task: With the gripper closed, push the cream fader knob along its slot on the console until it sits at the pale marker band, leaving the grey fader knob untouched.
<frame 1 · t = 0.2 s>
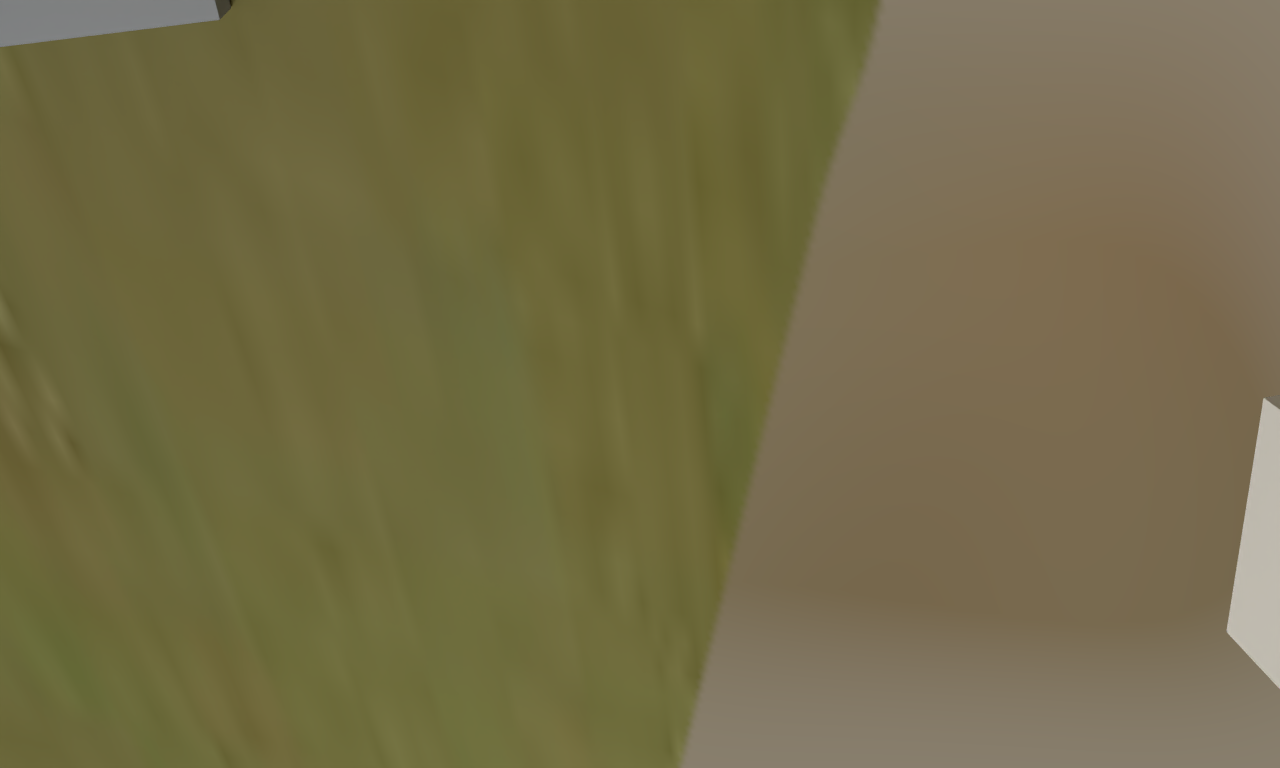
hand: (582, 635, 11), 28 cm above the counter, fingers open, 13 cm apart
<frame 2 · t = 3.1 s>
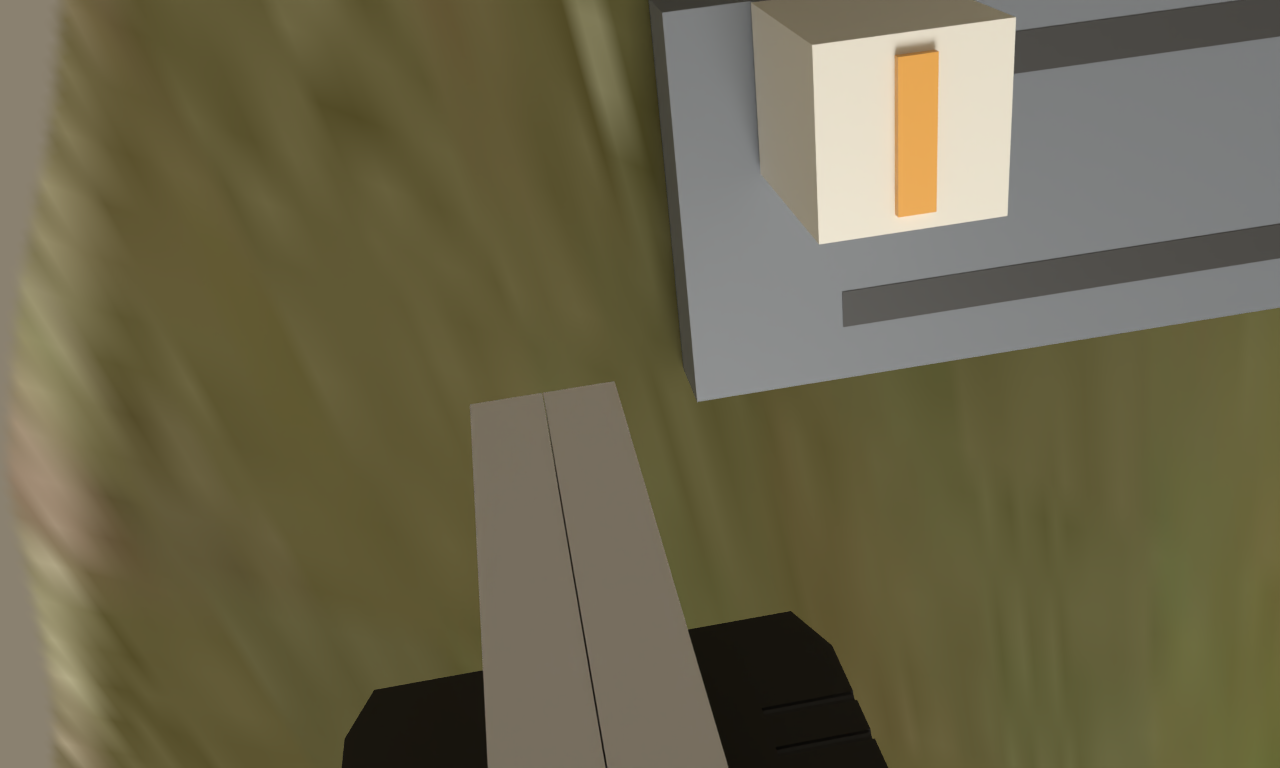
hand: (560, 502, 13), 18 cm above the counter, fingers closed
fader a: (875, 105, 26), point 5 cm above the counter, slide at 0.0 cm
console: (1247, 112, 32), on the counter
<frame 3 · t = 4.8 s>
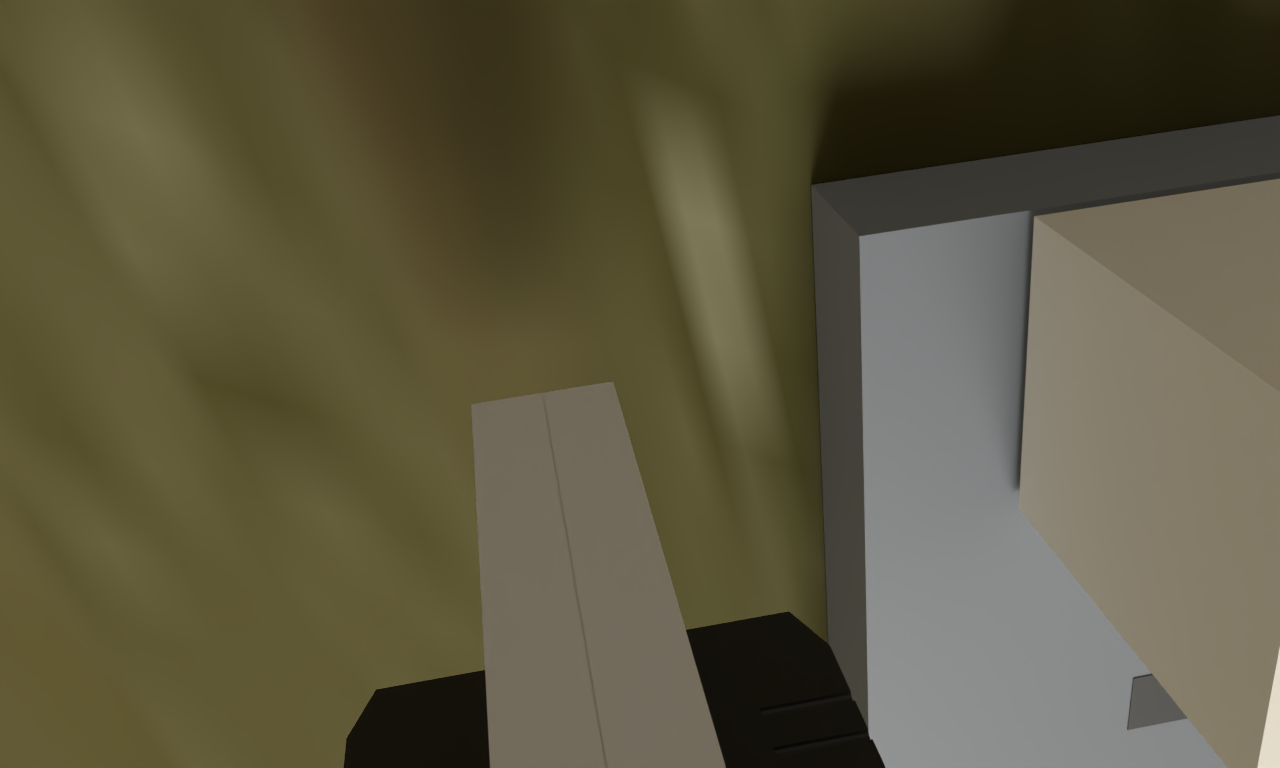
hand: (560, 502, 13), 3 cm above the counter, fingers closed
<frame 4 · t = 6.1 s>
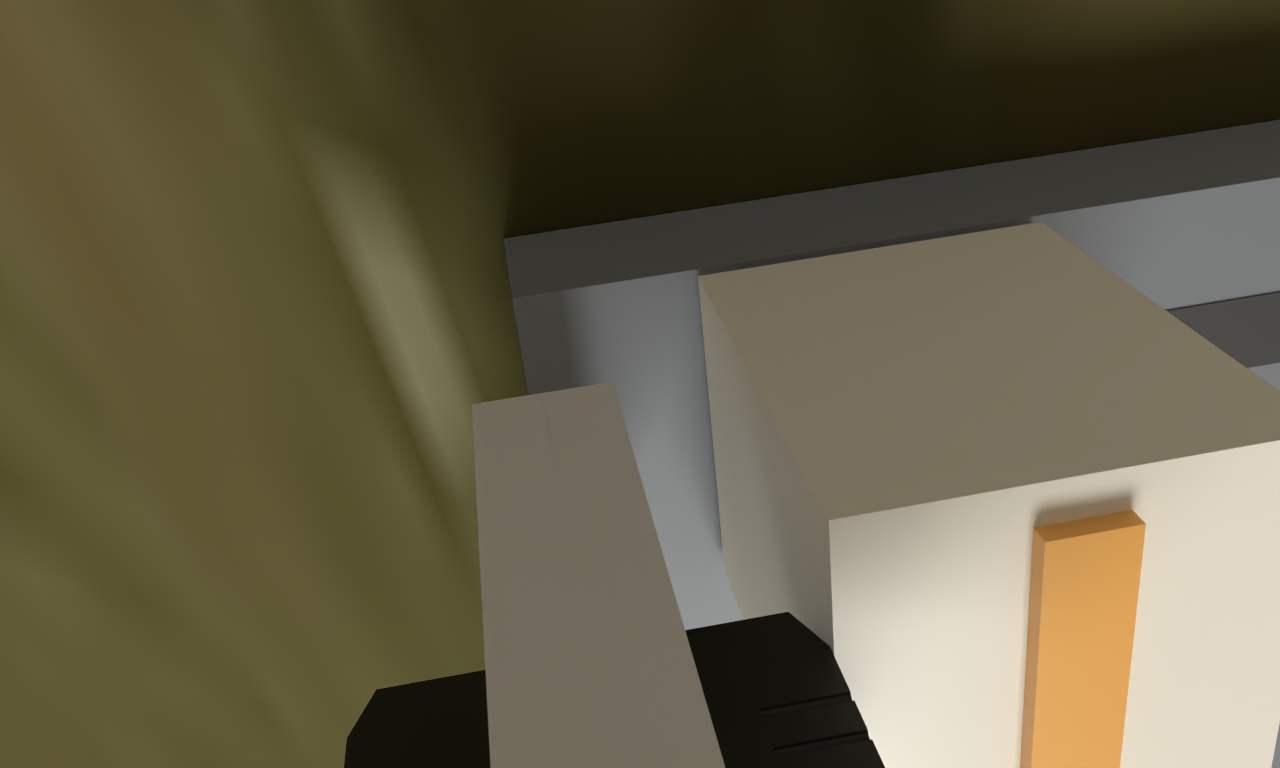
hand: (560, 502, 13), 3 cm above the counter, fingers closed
fader a: (958, 521, 12), point 5 cm above the counter, slide at 0.1 cm, touching gripper
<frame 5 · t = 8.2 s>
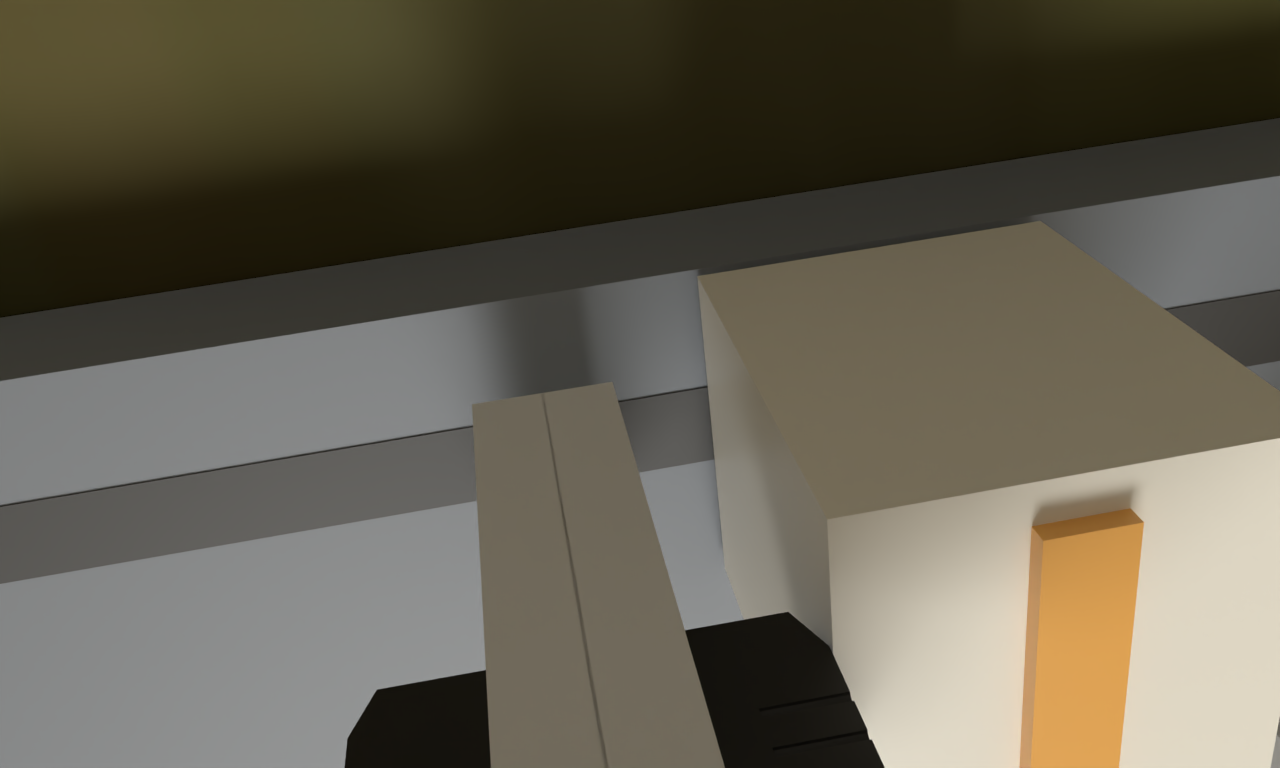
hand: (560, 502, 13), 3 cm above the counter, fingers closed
fader a: (957, 520, 12), point 5 cm above the counter, slide at 11.9 cm, touching gripper
console: (834, 512, 18), on the counter
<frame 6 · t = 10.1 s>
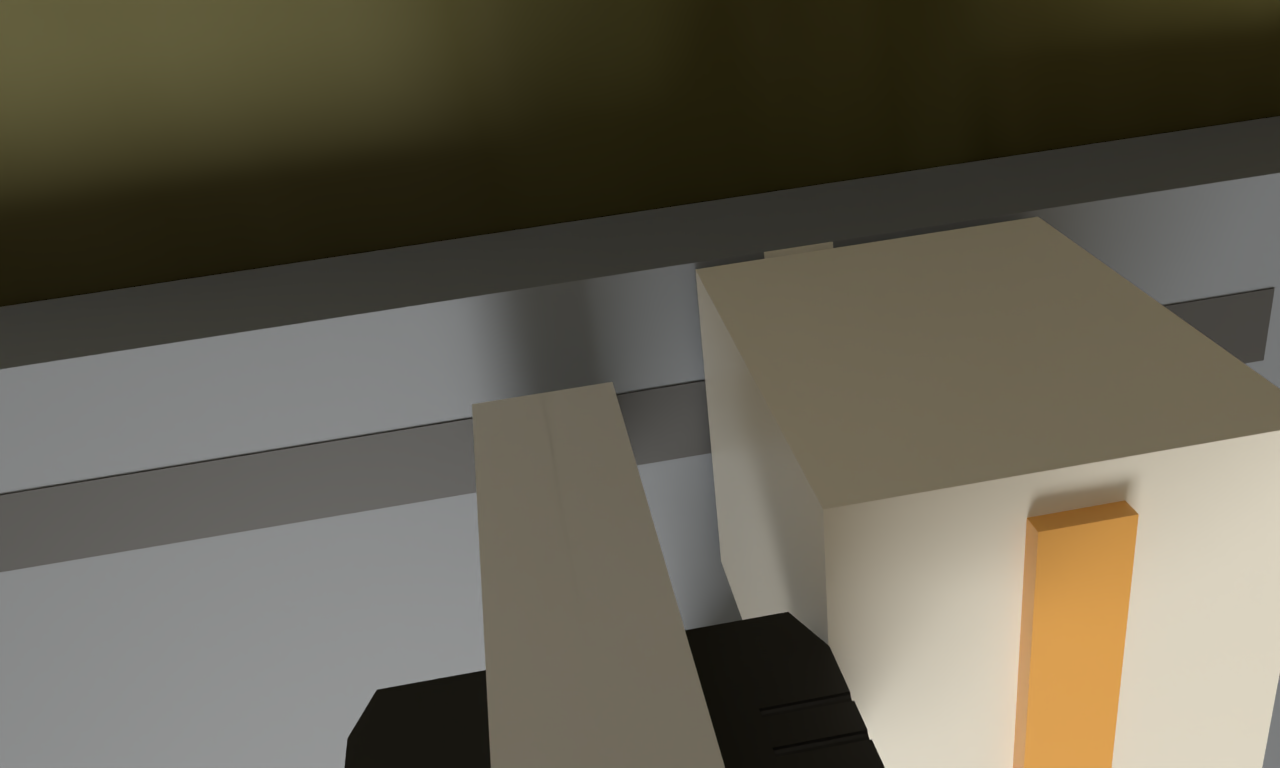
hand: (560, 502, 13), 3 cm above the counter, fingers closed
fader a: (953, 514, 12), point 5 cm above the counter, slide at 18.8 cm, touching gripper
console: (369, 587, 17), on the counter
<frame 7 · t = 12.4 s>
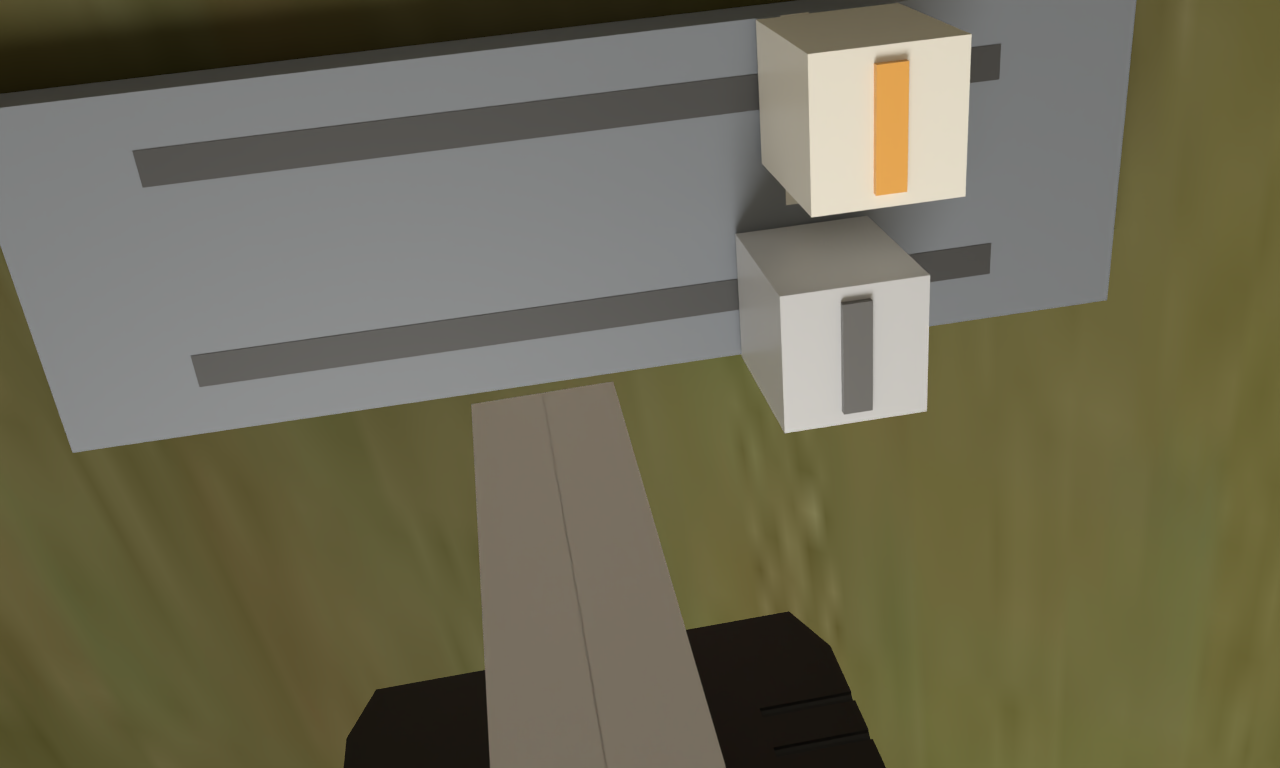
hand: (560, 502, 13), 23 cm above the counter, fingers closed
fader a: (858, 105, 31), point 5 cm above the counter, slide at 18.9 cm
console: (587, 196, 36), on the counter
fader b: (828, 320, 34), point 5 cm above the counter, slide at 0.0 cm
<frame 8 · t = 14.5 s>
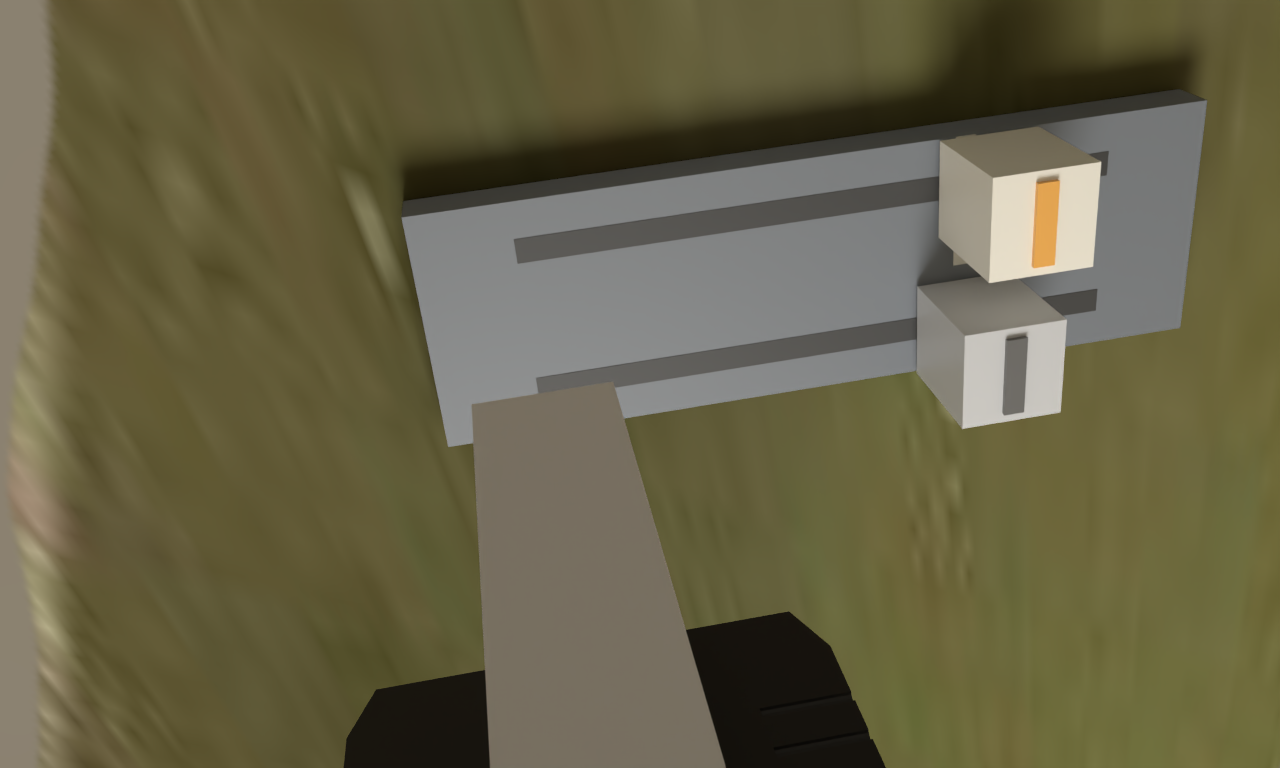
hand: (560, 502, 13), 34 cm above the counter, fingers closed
fader a: (1015, 203, 45), point 5 cm above the counter, slide at 18.9 cm
console: (807, 259, 50), on the counter
fader b: (988, 348, 48), point 5 cm above the counter, slide at 0.0 cm
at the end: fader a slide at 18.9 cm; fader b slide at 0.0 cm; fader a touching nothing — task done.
